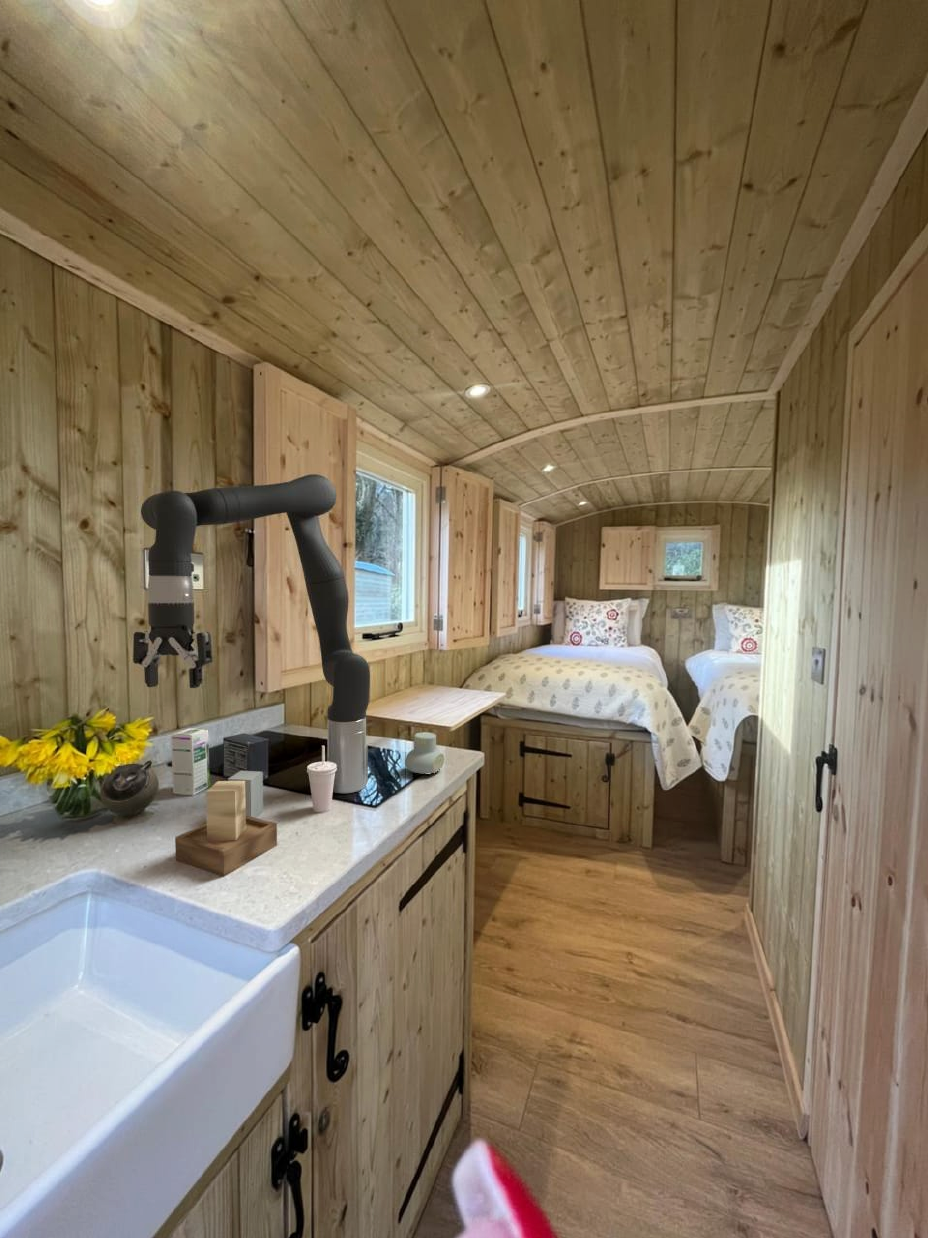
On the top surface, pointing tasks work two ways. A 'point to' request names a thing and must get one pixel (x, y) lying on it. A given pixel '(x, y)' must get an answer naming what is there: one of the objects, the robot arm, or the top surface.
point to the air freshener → (424, 754)
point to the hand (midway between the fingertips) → (173, 687)
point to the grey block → (251, 791)
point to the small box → (245, 754)
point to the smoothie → (321, 783)
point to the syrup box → (190, 761)
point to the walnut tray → (226, 847)
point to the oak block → (225, 810)
